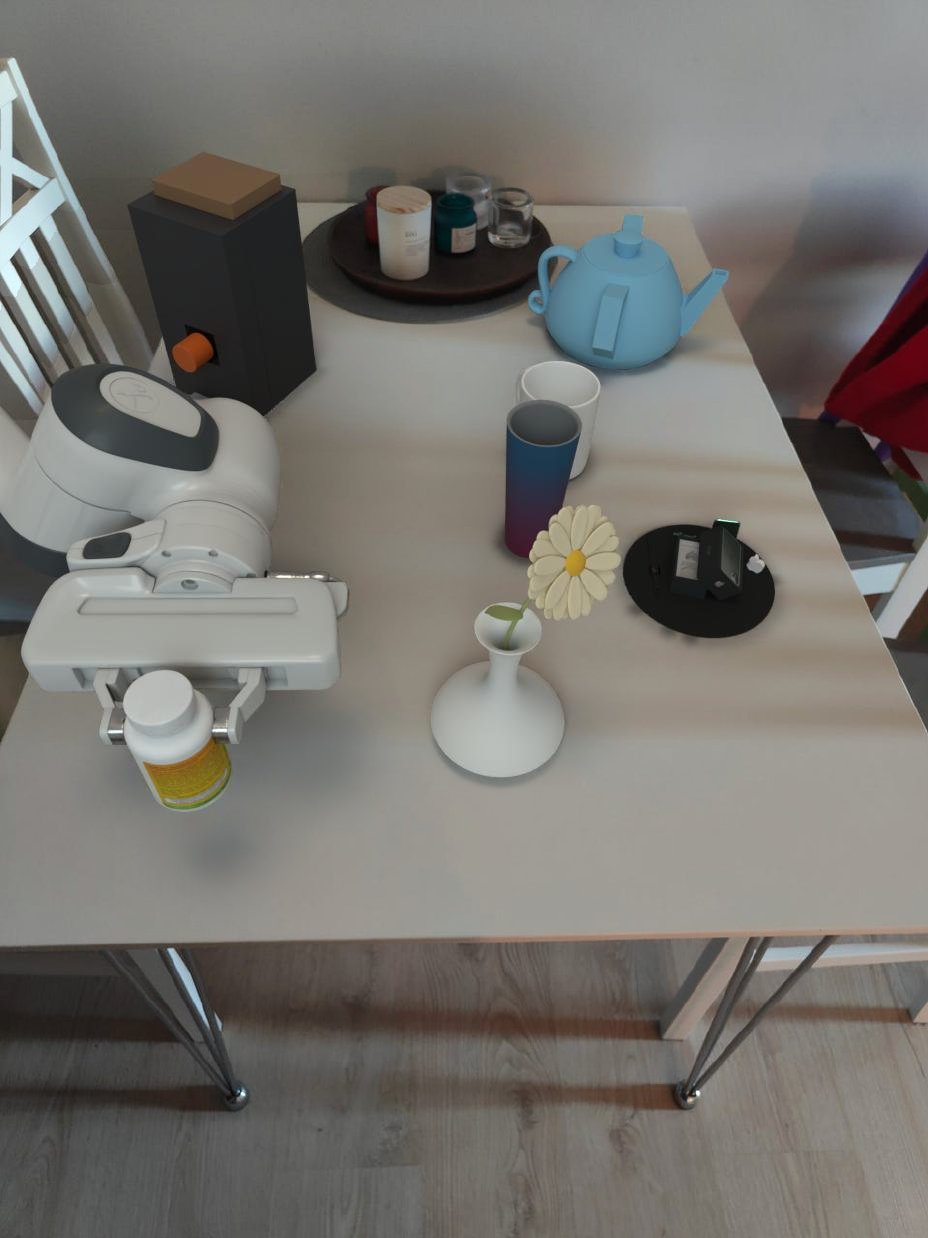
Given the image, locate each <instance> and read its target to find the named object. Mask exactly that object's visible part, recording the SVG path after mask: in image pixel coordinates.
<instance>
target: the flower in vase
mask: <svg viewBox="0 0 928 1238" xmlns="http://www.w3.org/2000/svg"><path fill="white" fill-rule="evenodd" d="M602 513H603V511H602V508H601V506H599V505H596V504H590V505H589V506H587V505H585V504H583V503H581V504H579V505H578V506H576V508H575V509H574V508H573V507H572V506H571V505H567V506H564V507H562V509H561V510H560V511H559V513H558V515H554V516H552V517H551V519H550V521H549V532H547V531H541V532H539V533H538V535H537V539H536V541H535V542H534V544H533V548H532V549H531V551H530V554H529V558H528V559H529V560H530V562H532V563H531V564H530V565H529V566H528V568H527V571H526V574H527V577H528V578H529V583H528V585H529V587H528V589H527V596H528V597H527V598H526V599H525V601H524V603H523V604H519V603H517V602H508V601H507V602H506V601H504V602H497V603H493V604H490V605H488V606H487V607H484V608H483V609H482V610H481V611H480V612H479V613H478V614H477V616H476V618H475V620H474V626H473V629H474V633H475V636H476V638H477V640H478V642H479V643H480V644H481V645H482V646H483V648H485V649H486V650H487V652H488V658H489V660H485V661H479V662H475V663H472V664H470V665H466V666H465V667H463V668H461V669H459V670H457V671H456V672H454V673H453V674H452V675H451V676H449V677H448V678H447V679H446V680H445V681H444V682H443V684H442V685H441V686H440V688H439V689H438V691H437V693H436V694H435V696H434V698H433V701H432V703H431V707H430V717H429V718H430V719H429V721H430V728H431V733H432V735H433V737H434V739H435V742H436V743H437V745H438V746H439V748H440V749H441V751H442V752H443V753H444V755H446V756H447V758H448V759H450V760H451V761H452V762H453V763H455V764H456V765H458V766H459V767H461V768H463V769H465V770H467V771H469V772H471V773H474V774H477V775H480V776H484V777H490V778H511V777H515V776H517V777H518V776H521V775H524V774H527V773H529V772H532V771H534V770H536V769H537V768H539V767H540V766H542V765H544V764H545V763H546V762H548V761H549V760H550V759H551V757H552V756H553V755H554V754H555V753H556V751H558V748H559V747H560V744H561V742H562V740H563V737H564V734H565V724H566V723H565V721H566V719H565V713H564V709H563V706H562V703H561V701H560V699H559V697H558V695H557V693H556V691H555V689H554V688H553V686H551V684H550V683H549V682H548V681H547V680H546V679H545V678H544V677H543V676H542V675H540V674H539V673H537V672H536V671H534V670H532V669H530V668H528V667H526V666H525V665H522V664H520V662H521V659H522V657H523V655H524V654H526V653H528V652H530V651H532V650H533V649H535V648H536V647H537V645H538V644H539V642H540V641H541V639H542V635H543V626H542V621H541V620H540V619H539V617H538V615H537V614H536V613H535V612H534V611H533V610H532V609H530V608H529V605H530V604H531V602H532V601H533V600H534V602H535V603H534V604H535V606H536V608H537V609H538V610H542V609H543V615H544V617H545V619H546V620H551V619H552V618H553V619H554V620H555V621H556V622H560V621H561V620H566V619H568V618H570V619H571V620H572V621H576V620H578V619H579V618H580V617H581V615H582V616H583V617H587V616H589V615H590V614H591V612H592V607H593V606H594V604H595V601H596V600H597V601H599V602H603V601H605V600H606V599H607V598H608V595H609V590H608V586H610V585H612V584H614V583H615V581H616V577H617V576H616V573H615V569H616V568H618V567H619V566H620V565H621V563H622V556H621V555H620V554H619V553H617V548H618V547H619V545H620V538H619V536H617V535H616V534H617V530H616V528H615V527H614V524H613V523H612V522H611V521H609V518H608V517H607V516H606V515H602Z"/></svg>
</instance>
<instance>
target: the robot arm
mask: <svg viewBox="0 0 928 1238" xmlns="http://www.w3.org/2000/svg"><path fill="white" fill-rule="evenodd" d="M189 396H190V395H189V394H187V393H184V392H182V391H181V390H180V389H178V388H177V387H176V385H173V384H172V383H170V382H169V381H167V380H165V379H163V378H161V377H160V376H157V375H155V374H152V373H150V372H147V371H146V370H142V369H139V368H137V367H132V366H128V365H123V364H116V363H91V364H84V365H79V366H76V367H73V368H70V369H68V370H67V371H65V372H63V373H62V374H61V375H59V376H58V377H57V378H56V379H55V381H54V383H53V384H52V387H51V390H50V392H49V394H48V396H47V398H46V399H45V403H44V405H43V407H42V409H41V411H40V413H39V416H38V418H37V420H36V423H35V425H34V426H33V431H32V433H31V437H29V435H28V434H27V433H26V432H25V431H24V430H23V428H22V427H21V426H19V424H18V423H17V422H16V421H15V420H14V419H13V418H12V417H11V415H10V414H9V413H8V412H7V411H6V410H5V408H3V407H2V405H0V541H1V542H2V544H3V545H4V546H5V548H6V550H8V551H9V552H10V553H11V554H12V555H13V556H14V557H15V558H16V559H17V560H19V561H20V562H21V563H23V564H24V565H25V566H27V567H29V568H30V569H32V570H34V571H36V572H37V573H40V574H42V575H46V576H49V577H52V578H56V580H55V581H54V582H53V583H52V584H51V585H50V586H49V588H48V589H47V590H46V591H45V594H44V595H43V597H42V598H41V601H40V602H39V604H38V606H37V608H36V610H35V612H34V615H33V616H32V619H31V621H30V623H29V626H28V628H27V631H26V633H25V636H24V638H23V641H22V645H21V648H20V656H21V659H22V662H23V665H24V667H25V668H26V671H27V672H28V674H29V675H30V676H31V678H32V679H33V681H34V682H35V683H36V685H37V686H38V687H39V688H40V689H41V690H42V691H44V692H46V693H96V696H97V698H98V700H99V703H100V705H101V707H102V709H103V713H102V717H101V721H100V723H99V727H98V731H99V732H98V733H99V734H98V735H99V737H100V739H101V740H102V743H103V745H104V746H127V743H126V740H125V737H124V723H125V719H126V716H127V715H126V713H125V711H124V707H117V704H116V703H123V700H124V696H125V693H126V691H127V689H128V688H129V686H130V685H131V684H132V683H133V682H134V681H135V680H137V679H138V678H139V677H141V676H143V675H145V674H147V673H150V672H153V671H157V670H172V671H176V672H178V673H180V674H182V675H184V676H185V677H186V678H187V679H188V680H189V681H190V683H191V685H192V687H193V689H195V690H197V691H199V692H211V691H212V692H214V691H215V692H216V691H217V692H219V691H221V692H222V691H224V692H225V691H227V692H228V691H234V692H235V691H237V692H238V694H237V695H236V696H235V697H234V699H233V700H232V701H231V702H230V704H229V705H228V706H216V707H214V710H213V711H214V719H215V720H214V721H213V724H212V736H213V738H215V740H214V742H215V743H216V744H225V745H240V743H241V741H242V734H243V727H244V723H246V722H247V721H248V720H249V719H250V718H251V717H252V716H253V714H254V713H256V711H257V710H258V709H259V708H260V706H262V704H264V702H265V698H266V691H325V690H329V689H330V688H332V686H333V685H334V684H335V683H337V681H338V680H340V678H341V676H342V651H341V639H340V638H341V637H340V629H339V622H340V621H342V620H343V619H344V618H345V616H347V613H348V611H349V607H350V589H349V587H348V585H347V583H346V582H344V581H343V580H341V579H339V578H337V577H334V576H330V572H326V571H322V570H321V571H319V570H315V571H310V572H297V571H287V570H286V571H279V570H278V571H277V570H276V571H273V570H271V571H270V568H271V562H272V556H273V538H272V534H271V530H272V529H273V527H274V526H275V524H276V521H277V519H278V515H279V511H280V509H279V508H280V501H281V494H282V493H281V492H282V482H283V481H282V480H283V479H282V478H283V464H282V453H281V449H280V445H279V442H278V439H277V437H276V434H275V431H274V430H273V428H272V426H271V424H270V423H269V422H268V420H267V419H266V418H265V417H264V416H262V415H261V414H260V413H259V412H257V411H256V410H255V409H253V408H252V407H250V406H248V405H246V404H244V403H242V402H240V401H237V400H234V399H229V398H209V399H203V400H196V399H192V398H190V397H189Z"/></svg>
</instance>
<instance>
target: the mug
mask: <svg viewBox="0 0 928 1238" xmlns="http://www.w3.org/2000/svg"><path fill="white" fill-rule="evenodd" d="M601 388H602V386H601V383H600V380H599V378H598V377H597V375H595V373H594V372H593V371H592V370H590V369H589V368H587V367H586V366H583V365H581V364H578V363H574V362H571V361H564V360H549V361H548V360H547V361H543V362H539V363H536V364H534V365H532V366H527V367H524V368H522V370H521V371H520V373H519V374H518V376H517V379H516V384H515V401H516V406H517V405H519V404H521V403H524V402H527V401H531V400H550V401H555V402H558V403H561V404H564V405H566V406H568V407H569V408H571V409H572V410H574V411H575V412H576V413H577V414H578V416H579V417H580V419H581V422H582V430H581V434H580V438H579V442H578V446H577V450H576V454H575V458H574V462H573V466H572V470H571V474H570V478H569V481H570V480H572V479H574V478H576V477H578V475H580V474H581V473H582V472H583V471H584V469H585V467H586V465H587V462H588V459H589V454H590V449H591V445H592V439H593V434H594V428H595V423H596V416H597V412H598V406H599V400H600V395H601V390H602V389H601Z"/></svg>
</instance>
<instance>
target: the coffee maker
mask: <svg viewBox="0 0 928 1238" xmlns="http://www.w3.org/2000/svg"><path fill="white" fill-rule="evenodd" d="M281 181H282V180H281V174H280V173H276V172H274V171H270V170H267V169H263V168H260V167H256V166H254V165H250V164H246V163H243V162H240V161H236V160H232V159H229V158H226V157H223V156H218V155H216V154H213V153H209V152H207V151H202V152H200V153H197V154H196V155H194V156H192V157H191V158H188V159H186V160H185V161H183V162H181V163H179V164H178V165H176V166H174V167H171V168H170V169H168V170H166V171H164V172H163V173H161V174H159V175H157V176H155V177H153V178H152V179H151V184H152V188H153V190H151V191H149V192H148V193H145V194H144V195H142V196H140V197H138V198H136V199H134V200H133V201H131V202H129V203H127V205H126V206H127V210H128V213H129V217H130V222H131V224H132V228H133V232H134V236H135V240H136V243H137V247H138V251H139V255H140V258H141V261H142V265H143V269H144V274H145V276H146V280H147V284H148V288H149V292H150V295H151V299H152V302H153V307H154V311H155V314H156V318H157V322H158V326H159V329H160V333H161V336H162V340H163V345H164V348H165V352H166V355H167V359H168V363H169V367H170V370H171V373H172V378H173V381H174V386H175V387H177V388H178V389H180V390H181V391H182V392H184V393H185V394H186V395H188V396H189V397H190V398H192V399H196V400H203V399H209V398H229V399H234V400H237V401H240V402H242V403H244V404H246V405H248V406H250V407H252V408H253V409H255V410H256V411H257V412H259V413H260V414H261V415H262V416H263V417H264V416H265V415H267V414H268V413H269V412H270V411H271V410H273V408H275V407H276V406H277V405H278V404H279V403H280V402H282V401H283V400H284V399H285V398H286V397H287V396H289V395H290V394H291V393H292V392H293V391H294V390H296V389H297V388H298V387H299V386H300V385H301V384H302V383H304V382H305V381H306V380H307V379H308V378H309V377H311V376H312V375H313V374H314V373H315V372H316V371H317V362H316V354H315V345H314V337H313V328H312V320H311V311H310V303H309V293H308V284H307V276H306V267H305V260H304V259H305V258H304V251H303V242H302V233H301V226H300V225H301V224H300V216H299V210H298V209H299V208H298V207H299V206H298V199H297V192H296V191H297V190H296V188H294V187H290V186H287V185H283V184H282V182H281ZM192 333H199V334H201V335H203V336H204V337H205V338H206V339H207V340H208V341H209V342H210V344H211V346H212V348H213V357H212V358H211V359H210V360H209V361H207V362H206V363H205V364H203V365H202V366H201V367H200V368H198V369H197V370H196V371H194V372H187V371H185V370H184V369H182V368H181V367H180V366H179V365H178V364H177V362H176V361H175V359H174V357H173V353H172V350H173V347H174V346H176V345H177V344H178V343H180V342H181V341H182V340H184V339H185V338H187V337H188V336H189V335H191V334H192Z"/></svg>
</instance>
